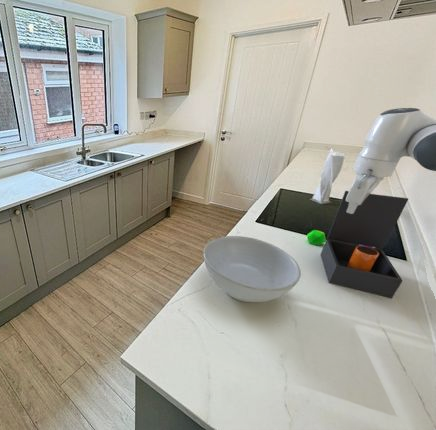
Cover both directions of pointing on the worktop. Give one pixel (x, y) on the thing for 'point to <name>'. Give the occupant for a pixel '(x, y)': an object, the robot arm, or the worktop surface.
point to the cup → (363, 258)
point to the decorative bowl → (250, 268)
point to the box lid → (367, 220)
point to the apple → (316, 237)
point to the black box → (357, 279)
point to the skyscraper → (328, 177)
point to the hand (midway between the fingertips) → (354, 208)
